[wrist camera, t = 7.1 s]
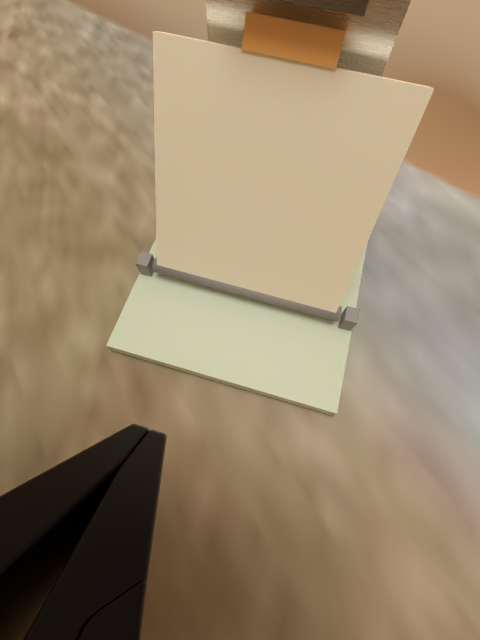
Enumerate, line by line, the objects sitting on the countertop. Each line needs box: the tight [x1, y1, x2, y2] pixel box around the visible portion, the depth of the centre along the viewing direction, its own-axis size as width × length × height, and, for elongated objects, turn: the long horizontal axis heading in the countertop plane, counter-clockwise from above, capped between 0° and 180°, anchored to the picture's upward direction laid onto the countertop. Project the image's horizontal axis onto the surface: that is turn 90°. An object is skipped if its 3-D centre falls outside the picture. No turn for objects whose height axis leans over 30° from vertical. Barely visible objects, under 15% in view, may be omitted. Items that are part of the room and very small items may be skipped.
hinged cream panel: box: [152, 11, 434, 321], centre depth 18 cm, size 1×13×14 cm, turn 73°
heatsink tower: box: [206, 0, 411, 77], centre depth 19 cm, size 5×8×15 cm, turn 74°
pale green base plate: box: [106, 239, 368, 416], centre depth 24 cm, size 17×15×2 cm
